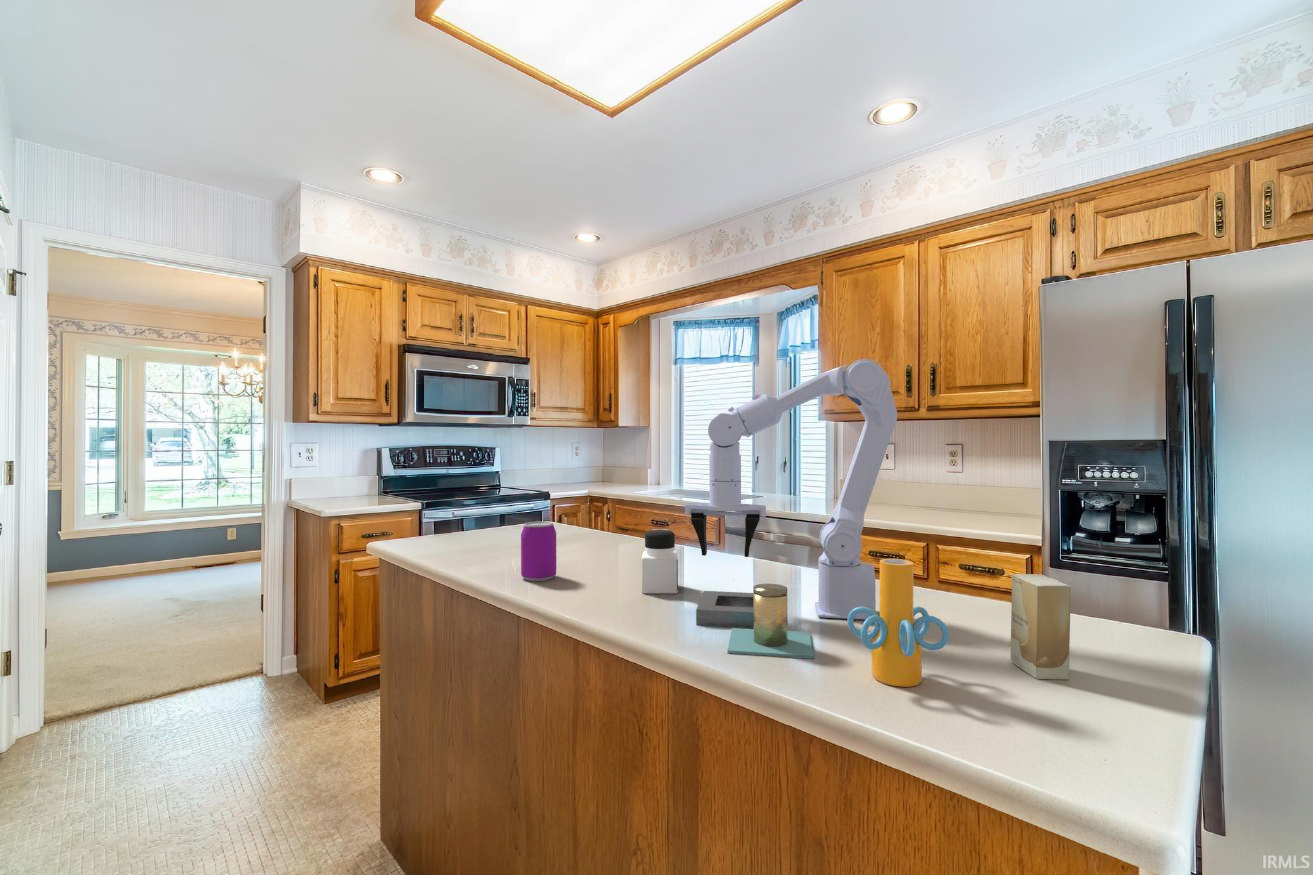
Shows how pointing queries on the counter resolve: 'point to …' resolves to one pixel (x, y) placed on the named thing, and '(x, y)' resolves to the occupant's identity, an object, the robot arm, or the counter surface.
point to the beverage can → (538, 551)
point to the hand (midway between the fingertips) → (725, 555)
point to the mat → (795, 647)
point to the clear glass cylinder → (770, 615)
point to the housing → (726, 609)
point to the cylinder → (897, 628)
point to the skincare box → (1040, 626)
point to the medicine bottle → (659, 563)
